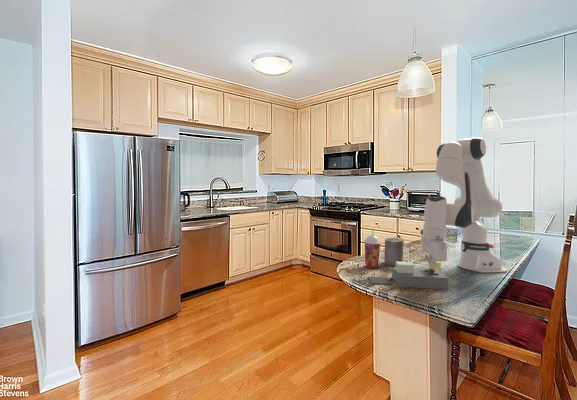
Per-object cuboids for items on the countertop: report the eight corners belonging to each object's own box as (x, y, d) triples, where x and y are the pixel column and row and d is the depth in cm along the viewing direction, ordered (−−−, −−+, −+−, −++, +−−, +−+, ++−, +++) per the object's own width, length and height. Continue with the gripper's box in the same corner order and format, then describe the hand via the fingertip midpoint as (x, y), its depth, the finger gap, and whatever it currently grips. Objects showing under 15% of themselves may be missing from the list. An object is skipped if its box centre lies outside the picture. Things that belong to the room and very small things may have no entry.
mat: (387, 278, 144) (387, 277, 144) (391, 285, 135) (391, 284, 135) (368, 277, 145) (368, 276, 145) (371, 284, 136) (371, 283, 136)
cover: (410, 270, 141) (411, 262, 141) (414, 273, 136) (414, 265, 136) (395, 269, 142) (395, 261, 141) (398, 273, 137) (398, 264, 136)
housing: (437, 279, 143) (438, 268, 143) (448, 289, 132) (448, 276, 131) (392, 277, 146) (392, 266, 145) (398, 286, 134) (398, 274, 133)
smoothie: (380, 265, 165) (381, 229, 163) (379, 270, 157) (380, 232, 155) (364, 263, 168) (365, 228, 166) (362, 268, 160) (364, 230, 158)
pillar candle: (399, 261, 173) (400, 235, 172) (404, 266, 163) (405, 239, 162) (382, 261, 174) (383, 235, 173) (386, 266, 164) (386, 238, 163)
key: (424, 267, 146) (424, 253, 145) (429, 267, 145) (430, 253, 145) (434, 278, 130) (435, 262, 129) (440, 278, 130) (441, 263, 129)
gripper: (452, 239, 119) (450, 273, 120) (433, 230, 139) (431, 259, 141) (435, 238, 120) (433, 273, 121) (419, 229, 140) (417, 258, 141)
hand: (432, 265), depth 131 cm, fingers closed, pressing on key
